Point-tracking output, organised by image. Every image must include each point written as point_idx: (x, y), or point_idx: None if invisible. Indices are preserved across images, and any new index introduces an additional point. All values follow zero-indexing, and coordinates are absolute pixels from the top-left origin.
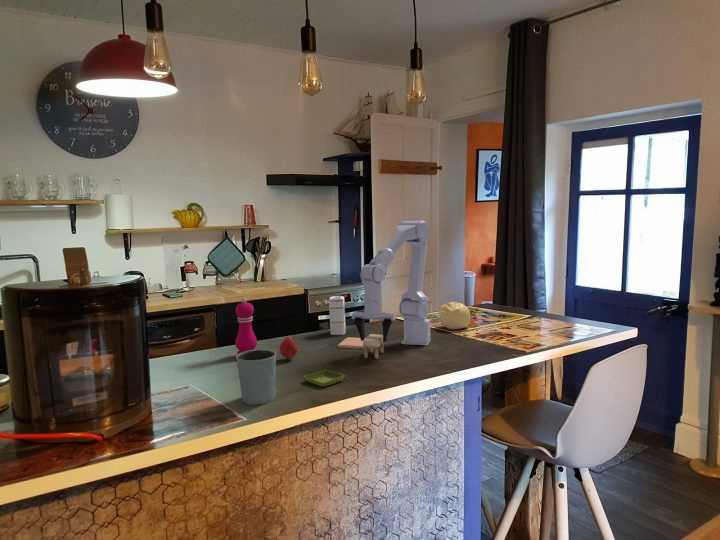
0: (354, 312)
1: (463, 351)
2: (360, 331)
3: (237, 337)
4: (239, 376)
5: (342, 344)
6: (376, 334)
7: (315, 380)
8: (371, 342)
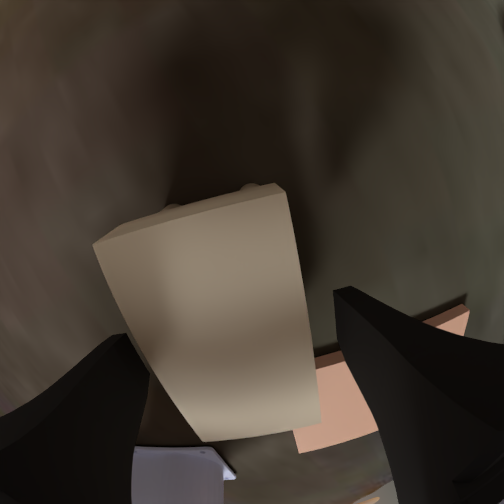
0: None
1: (20, 404)
2: (400, 332)
3: None
4: None
5: (454, 326)
6: (263, 431)
7: None
8: (167, 218)
